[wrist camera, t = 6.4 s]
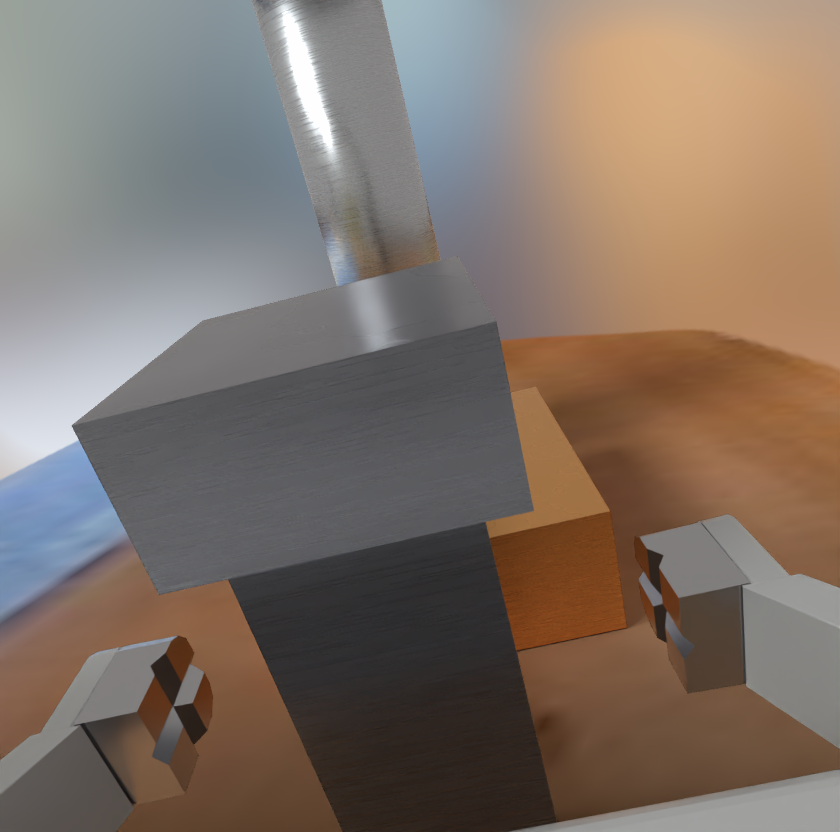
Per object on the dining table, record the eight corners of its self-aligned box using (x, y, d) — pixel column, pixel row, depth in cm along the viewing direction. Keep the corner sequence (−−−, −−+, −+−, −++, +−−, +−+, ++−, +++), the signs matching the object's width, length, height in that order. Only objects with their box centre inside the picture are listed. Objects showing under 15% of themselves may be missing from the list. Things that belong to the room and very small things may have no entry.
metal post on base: (626, 627, 17) (433, -725, 8) (308, 694, 18) (-203, -492, 9) (522, 411, 32) (412, -151, 23) (350, 452, 33) (178, -80, 24)
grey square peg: (635, 1020, 10) (496, 321, 5) (398, 1058, 10) (71, 425, 6) (571, 787, 14) (457, 255, 9) (399, 820, 14) (202, 320, 9)
